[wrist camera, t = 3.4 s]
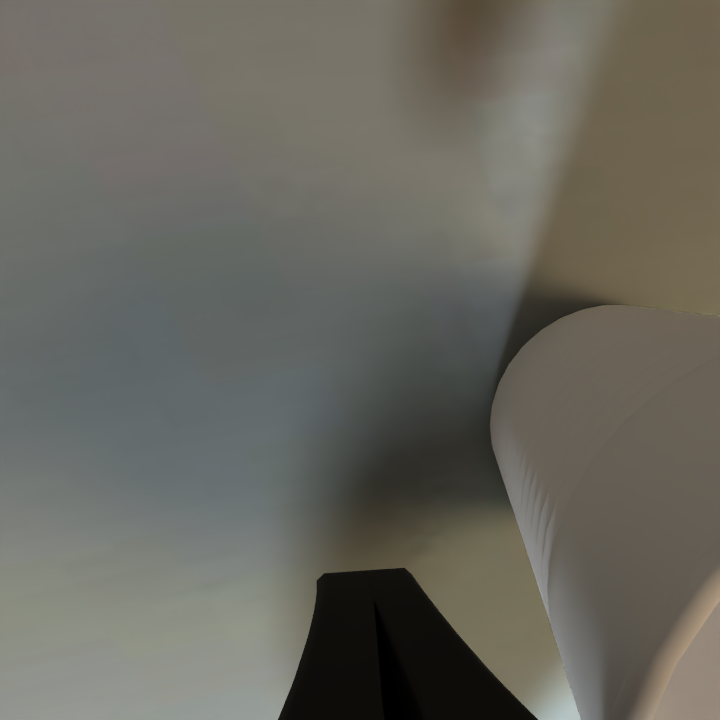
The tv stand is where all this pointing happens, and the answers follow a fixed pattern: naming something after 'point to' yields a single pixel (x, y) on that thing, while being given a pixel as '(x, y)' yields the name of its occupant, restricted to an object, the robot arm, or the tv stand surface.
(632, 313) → the cup
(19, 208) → the tv stand surface
